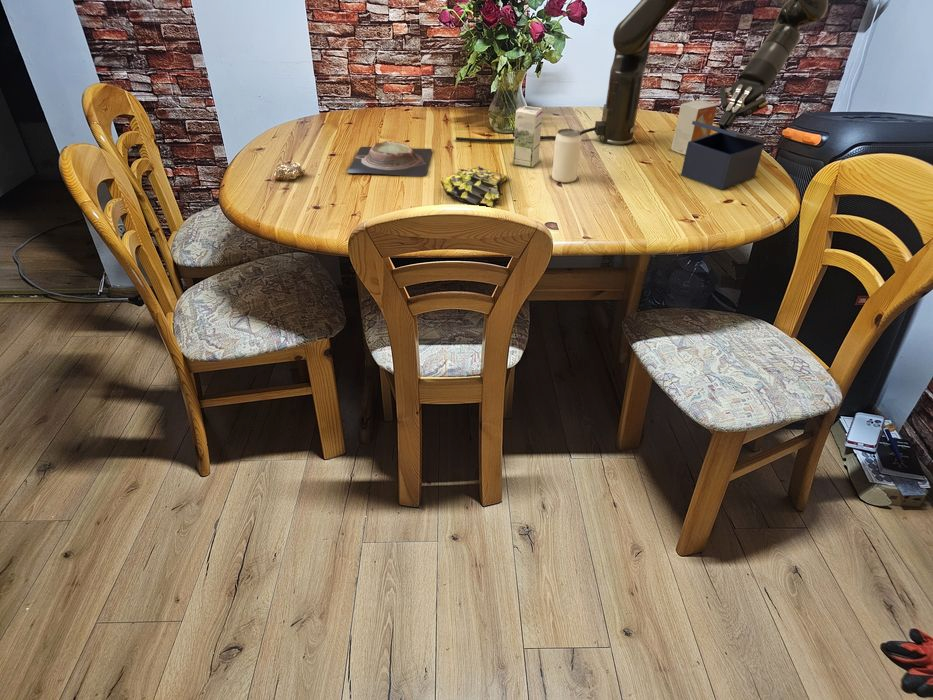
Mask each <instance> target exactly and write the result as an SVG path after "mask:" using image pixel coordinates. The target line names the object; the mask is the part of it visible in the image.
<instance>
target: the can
mask: <svg viewBox="0 0 933 700" xmlns="http://www.w3.org/2000/svg"><path fill="white" fill-rule="evenodd" d="M580 132H581V131H580V130H578V129H575V128H560V129H558V130H557V134H556V135H555V136H556V139H554V150H553V160H552V161H553V162H552V169H551V170H552V171H551V178H552V179H553V180H554V181H555V182H558V183H561V184H570V183H574V182H575V181H576V180H577V179H578V171H579V164H580V155H581V147H582V146H581V145H582V137H581V136H582V135H581V136H580Z"/></svg>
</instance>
